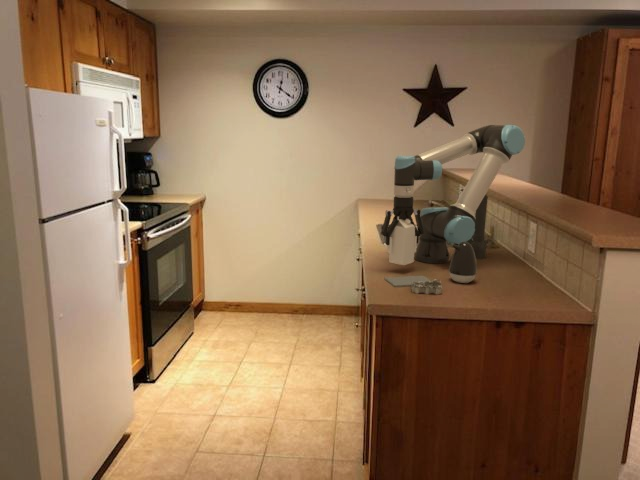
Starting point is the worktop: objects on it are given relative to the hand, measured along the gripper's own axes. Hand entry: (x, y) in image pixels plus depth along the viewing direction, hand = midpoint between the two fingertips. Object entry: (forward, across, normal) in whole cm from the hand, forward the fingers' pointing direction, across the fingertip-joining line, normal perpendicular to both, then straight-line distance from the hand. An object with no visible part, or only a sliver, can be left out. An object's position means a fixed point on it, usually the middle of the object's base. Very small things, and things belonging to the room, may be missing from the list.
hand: (401, 252), depth 211 cm
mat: (+8, -3, -14) cm, 17 cm away
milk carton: (+4, 0, 0) cm, 4 cm away
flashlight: (+9, +44, +18) cm, 49 cm away
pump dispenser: (+8, +17, -17) cm, 26 cm away
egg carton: (+8, -1, -26) cm, 28 cm away
